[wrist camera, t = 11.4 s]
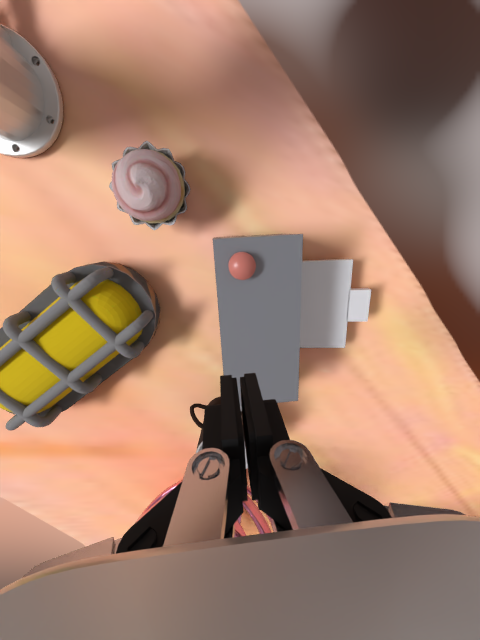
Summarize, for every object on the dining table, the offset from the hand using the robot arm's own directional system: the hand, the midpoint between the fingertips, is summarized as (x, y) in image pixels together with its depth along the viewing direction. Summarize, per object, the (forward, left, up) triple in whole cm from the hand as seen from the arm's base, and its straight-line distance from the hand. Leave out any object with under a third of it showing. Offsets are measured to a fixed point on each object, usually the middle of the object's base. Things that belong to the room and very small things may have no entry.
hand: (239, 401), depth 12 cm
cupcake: (-13, -8, -29) cm, 33 cm away
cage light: (+7, -24, -30) cm, 39 cm away
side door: (+4, +10, -28) cm, 30 cm away
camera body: (+5, +4, -29) cm, 30 cm away
